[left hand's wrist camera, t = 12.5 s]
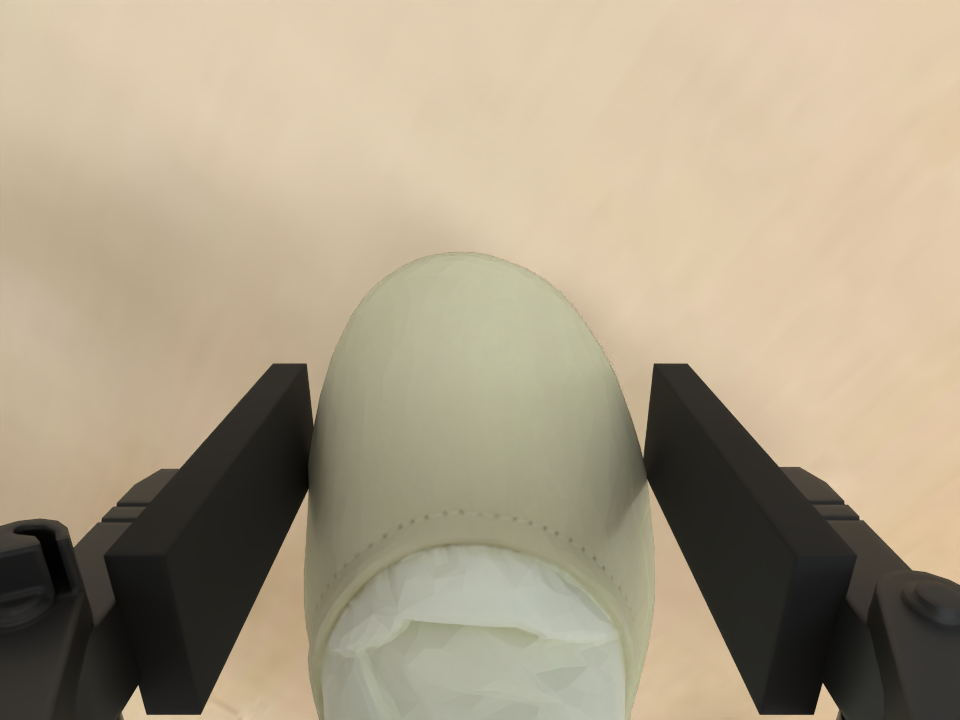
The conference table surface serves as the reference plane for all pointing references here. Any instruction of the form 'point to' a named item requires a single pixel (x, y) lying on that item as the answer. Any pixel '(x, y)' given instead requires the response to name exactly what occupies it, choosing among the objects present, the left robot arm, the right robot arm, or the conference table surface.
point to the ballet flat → (475, 508)
